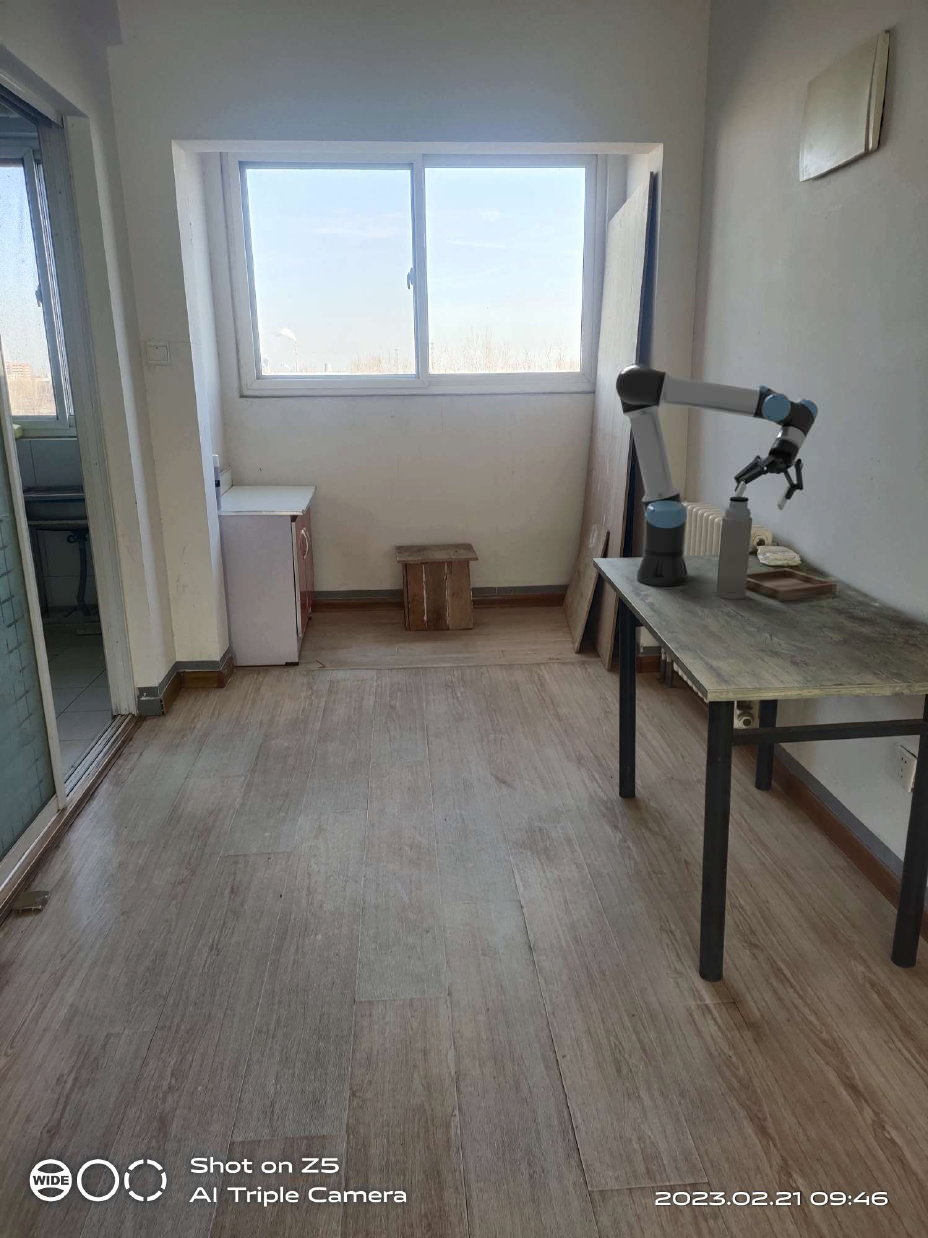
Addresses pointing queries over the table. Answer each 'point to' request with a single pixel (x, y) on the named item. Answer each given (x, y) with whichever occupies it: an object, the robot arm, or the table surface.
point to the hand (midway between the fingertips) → (756, 504)
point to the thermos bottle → (734, 549)
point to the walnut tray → (788, 585)
